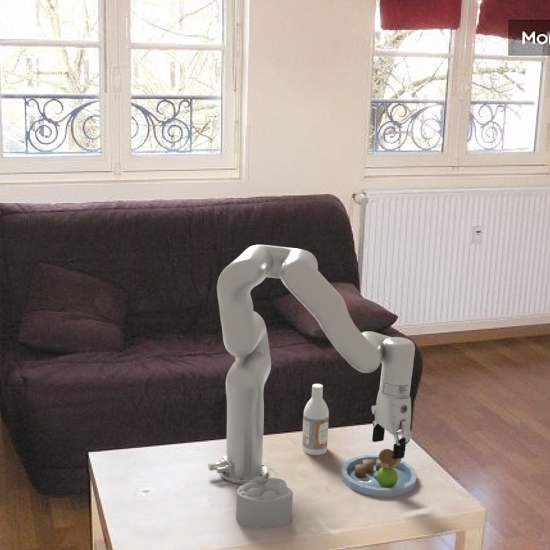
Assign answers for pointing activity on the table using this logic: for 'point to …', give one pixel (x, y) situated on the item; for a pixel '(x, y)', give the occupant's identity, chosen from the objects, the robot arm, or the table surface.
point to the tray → (370, 483)
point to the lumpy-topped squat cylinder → (264, 503)
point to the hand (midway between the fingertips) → (387, 449)
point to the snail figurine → (387, 469)
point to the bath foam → (315, 423)
